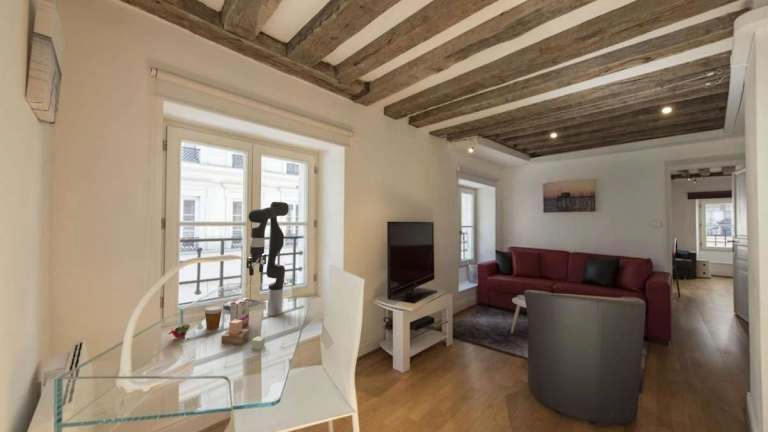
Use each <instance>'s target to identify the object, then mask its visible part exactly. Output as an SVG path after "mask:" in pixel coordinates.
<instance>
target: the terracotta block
mask: <svg viewBox="0 0 768 432" xmlns="http://www.w3.org/2000/svg"><path fill="white" fill-rule="evenodd" d="M228 323H229V324H228V330H229V333H230V334H236V335H237V334H238V333H240V332H241V331H242V329H243V328H242V320H237V319H234V320H233V321H231V322H230V321H228Z"/></svg>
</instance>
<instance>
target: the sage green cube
mask: <svg viewBox="0 0 768 432" xmlns="http://www.w3.org/2000/svg"><path fill="white" fill-rule="evenodd" d="M265 339H266V337H263V336H256V337H254V338H252V339H251V348H250V349H254V350H259V351H260V350H261V349H262V348H264V347H265V344H266V343H265V341H266V340H265Z"/></svg>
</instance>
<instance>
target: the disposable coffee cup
mask: <svg viewBox="0 0 768 432" xmlns="http://www.w3.org/2000/svg"><path fill="white" fill-rule="evenodd" d="M223 310H224V309H223V306H222V305H217V304H213V305H210V306H209V305H208V306H206V307H205V308H204V310H203V311H204V317H205V324H206V325H205V327H206V330H207V331H214V330H217V329H219V328H220V323H221V317H222V313H223V312H222V311H223Z"/></svg>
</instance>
